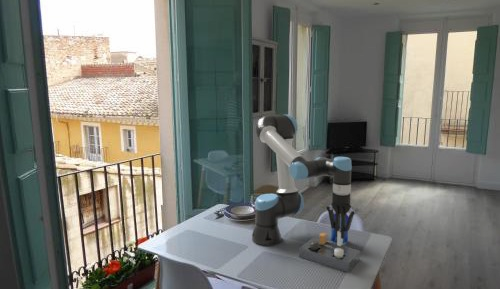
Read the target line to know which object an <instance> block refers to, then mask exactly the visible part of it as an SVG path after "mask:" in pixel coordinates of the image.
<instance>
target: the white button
mask: <svg viewBox="0 0 500 289" xmlns="http://www.w3.org/2000/svg"><path fill="white" fill-rule="evenodd" d="M343 256H344V250H343V249H341V248H335V249H334V257H335V258H339V259H343Z"/></svg>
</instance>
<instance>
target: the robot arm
mask: <svg viewBox="0 0 500 289" xmlns="http://www.w3.org/2000/svg"><path fill="white" fill-rule="evenodd" d="M254 132H255V136H256V137H257V138H258V140H260V141H261V143H264V144H266V145H267V146H268V147H269V148H270V149H271V150H272V151H273V152H274V153H275V157H276V168H277V181H278V182H277V184H278V189H277V190H276V193H264V194H261V195H259V196H258V197H256V199H255V204H254V208H255V210H254V212H255V215H254V216H255V226H254V228H253V232H252V233H251V234H252V235H251V240H252V242H253V243H254V244H256V245H259V246H275V245H277V244H279V243H280V242H281V241H282V235H281V231H280V228H279V219H282V218H286V217H287V218H288V217H294V216H296V215H298V214H301V212H302V211H303V209H304V205H305V201H304V200H305V199H304V197H303V195H302V193H300V192H299V189H298V188H296V183H295V181H296V180H298V181H299V180H306V179H311V178H317V177H324V176H326V177H331V178H332V202H331V204H329V205H327V206H326V211H327V212H328V217H329V222H330V228H331V227H332V228H334V229H335V236H336V237H337V245H338V246H341V245H342V244H343V238H344V237H345V231H348V232H349V230H350V228H351V225H352V222H353V220H354V216H355V214H356V213H357V210H355V209H353V208H352V205H351V191H352V169H353V166H352V158H350V157H347V156H336V157H334V158H333V159H331V158H327V157H322V156H321V157H320V156H319V157H316V158H315V159H312V160H307V159H306V158H304V157H303V155H301V154H300V153H299V152H298V151H297V150H296V149H295V148H294V147H293V146H292V142H293V140H295V138H294V136H295V135H297V132H298V123H297V120H296V118H295V117H294V116H292V115H291V114H270V115H263V116H262V117H260V118H259V119H258V120H257V121H256V123H255V126H254ZM334 211H335V216H336V218H334ZM346 213H347V214H348V213H349V215H348V221H347V224H346ZM340 214H341V227H340ZM340 228H341V229H340ZM339 229H340V230H339Z"/></svg>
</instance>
